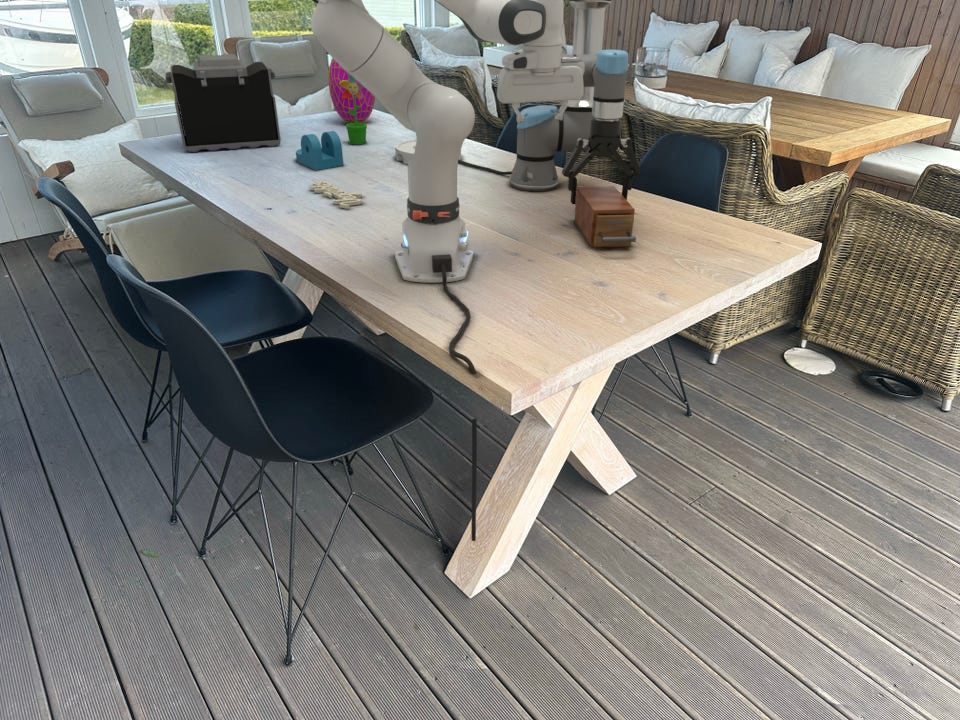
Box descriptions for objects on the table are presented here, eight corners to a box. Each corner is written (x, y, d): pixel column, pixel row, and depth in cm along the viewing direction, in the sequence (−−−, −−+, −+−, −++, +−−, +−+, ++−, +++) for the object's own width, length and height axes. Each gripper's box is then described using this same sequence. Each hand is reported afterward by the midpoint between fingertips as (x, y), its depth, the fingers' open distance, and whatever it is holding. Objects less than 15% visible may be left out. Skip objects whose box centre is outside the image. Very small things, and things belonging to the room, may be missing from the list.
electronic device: (278, 133, 274) (267, 51, 259) (285, 146, 256) (274, 59, 241) (180, 140, 262) (162, 54, 247) (180, 153, 244) (161, 62, 229)
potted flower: (342, 144, 260) (336, 73, 247) (351, 139, 266) (346, 70, 254) (365, 146, 257) (360, 74, 245) (374, 141, 264) (369, 71, 251)
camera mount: (343, 165, 234) (340, 133, 228) (315, 170, 228) (311, 137, 223) (318, 154, 246) (315, 124, 240) (291, 159, 240) (287, 128, 235)
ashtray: (454, 167, 232) (454, 155, 230) (388, 164, 235) (387, 152, 233) (466, 151, 252) (466, 140, 250) (404, 148, 255) (404, 137, 253)
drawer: (636, 253, 165) (640, 223, 161) (599, 254, 164) (602, 223, 160) (611, 221, 185) (615, 193, 181) (578, 221, 184) (581, 194, 180)
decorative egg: (362, 116, 305) (357, 42, 290) (386, 123, 292) (382, 46, 277) (324, 121, 294) (316, 45, 279) (347, 129, 281) (340, 49, 266)
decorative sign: (374, 199, 198) (343, 206, 193) (375, 203, 198) (344, 209, 193) (332, 179, 216) (303, 184, 211) (332, 182, 216) (303, 187, 211)
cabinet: (630, 246, 171) (634, 209, 166) (589, 247, 170) (593, 210, 166) (610, 220, 188) (614, 186, 183) (573, 221, 187) (576, 186, 182)
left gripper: (580, 54, 160) (576, 116, 167) (495, 57, 157) (495, 120, 164) (589, 58, 155) (585, 121, 162) (501, 61, 151) (501, 126, 159)
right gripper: (651, 115, 174) (640, 197, 185) (554, 115, 172) (549, 199, 183) (660, 121, 168) (648, 206, 178) (559, 121, 166) (554, 207, 176)
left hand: (539, 121), depth 163 cm, fingers open, 8 cm apart
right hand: (598, 202), depth 181 cm, fingers open, 13 cm apart
